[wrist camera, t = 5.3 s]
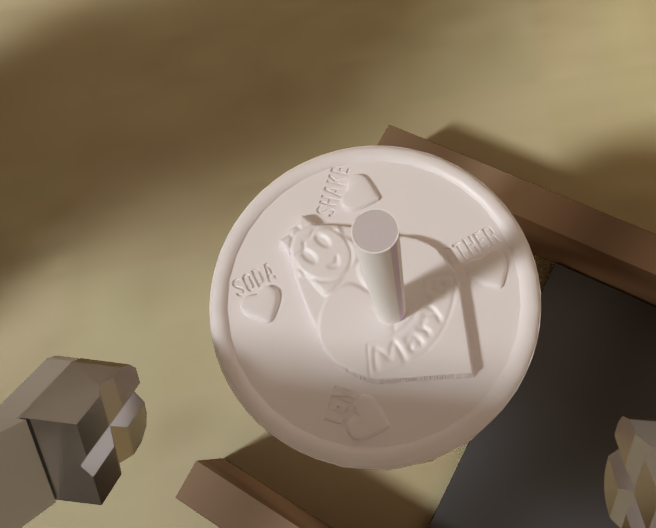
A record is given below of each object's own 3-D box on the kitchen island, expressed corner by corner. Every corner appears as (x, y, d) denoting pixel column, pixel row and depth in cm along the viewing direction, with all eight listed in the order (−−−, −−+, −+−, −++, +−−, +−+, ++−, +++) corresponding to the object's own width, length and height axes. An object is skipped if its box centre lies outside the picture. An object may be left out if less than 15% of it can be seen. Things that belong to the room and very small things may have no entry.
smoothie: (404, 500, 19) (374, 650, 5) (262, 371, 21) (-17, 246, 7) (524, 348, 19) (753, 151, 6) (377, 237, 21) (313, -93, 8)
